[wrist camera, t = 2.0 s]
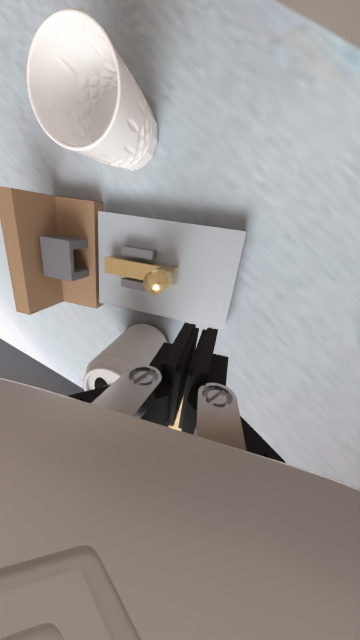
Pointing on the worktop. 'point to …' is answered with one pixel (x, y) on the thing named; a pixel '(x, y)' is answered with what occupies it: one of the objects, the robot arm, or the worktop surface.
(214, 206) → the worktop surface
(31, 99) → the white cup
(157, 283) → the bolt
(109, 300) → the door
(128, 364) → the can
